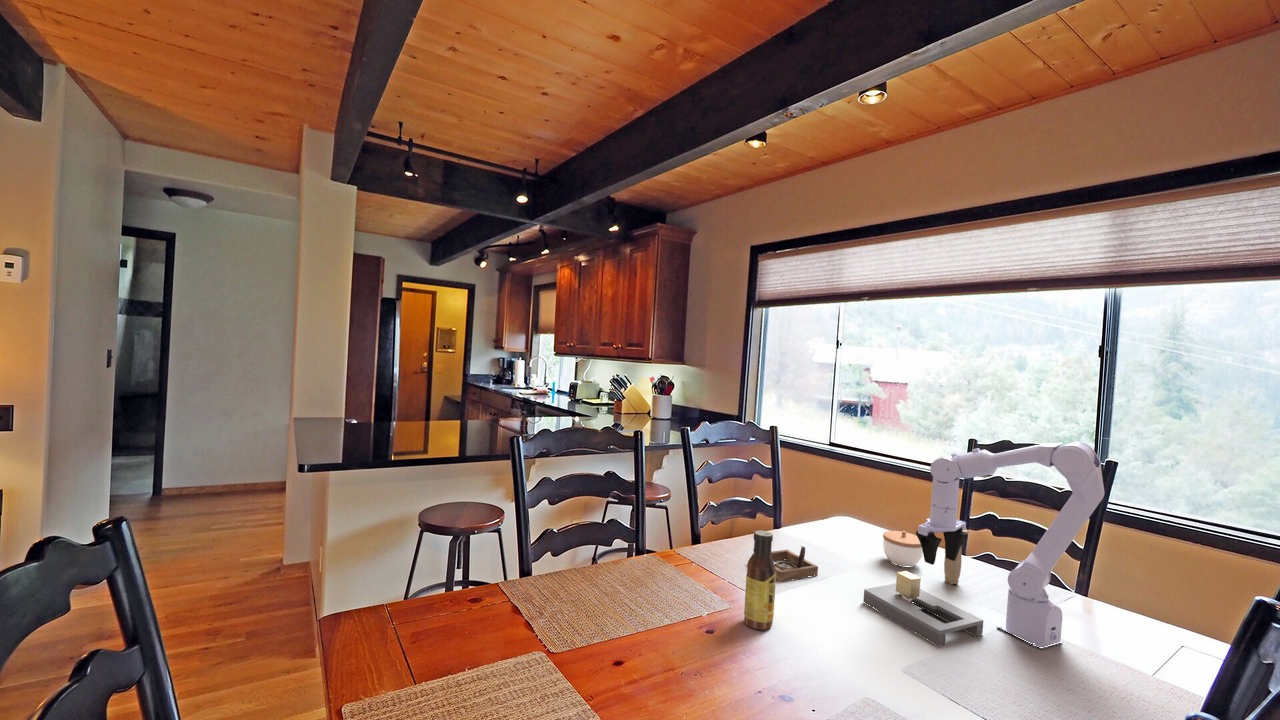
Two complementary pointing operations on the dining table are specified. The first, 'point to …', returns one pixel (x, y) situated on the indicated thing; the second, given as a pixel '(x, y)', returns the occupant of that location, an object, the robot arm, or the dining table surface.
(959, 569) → the handle
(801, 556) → the compass
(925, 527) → the robot arm
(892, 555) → the lidded jar
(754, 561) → the sauce bottle
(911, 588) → the keyhole peg
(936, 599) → the keyhole board
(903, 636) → the dining table surface
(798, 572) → the rim
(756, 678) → the dining table surface
